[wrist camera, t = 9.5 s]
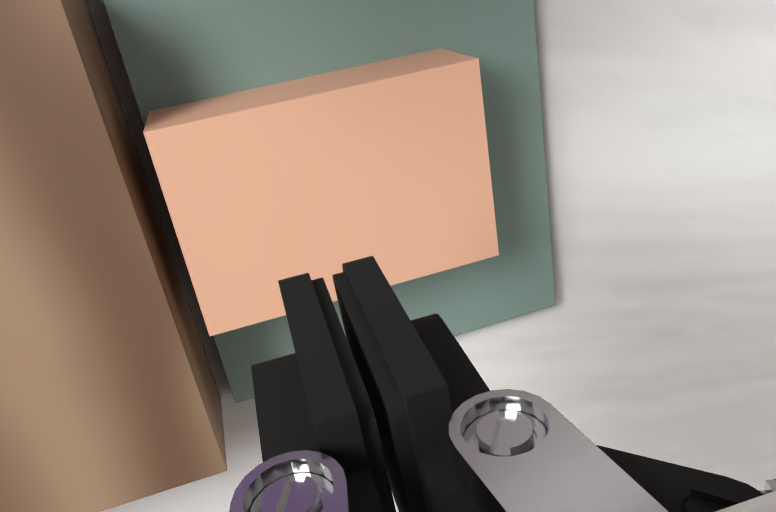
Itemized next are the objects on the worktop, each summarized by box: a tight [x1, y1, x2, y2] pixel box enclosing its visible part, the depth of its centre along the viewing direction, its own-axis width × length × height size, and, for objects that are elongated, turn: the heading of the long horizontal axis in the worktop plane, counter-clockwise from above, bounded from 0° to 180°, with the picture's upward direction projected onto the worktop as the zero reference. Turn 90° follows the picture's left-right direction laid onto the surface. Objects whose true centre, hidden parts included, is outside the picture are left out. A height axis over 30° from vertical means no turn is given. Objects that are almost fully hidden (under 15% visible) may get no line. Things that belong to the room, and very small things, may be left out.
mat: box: [103, 0, 556, 403], centre depth 22 cm, size 12×14×1 cm
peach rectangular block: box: [143, 48, 499, 336], centre depth 20 cm, size 9×6×3 cm, turn 100°
